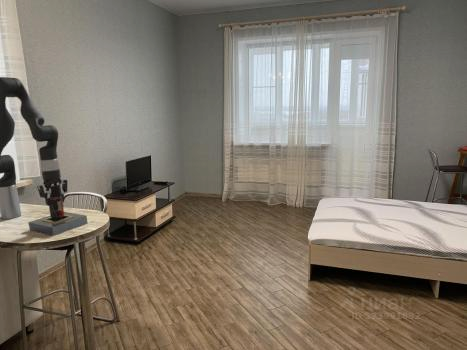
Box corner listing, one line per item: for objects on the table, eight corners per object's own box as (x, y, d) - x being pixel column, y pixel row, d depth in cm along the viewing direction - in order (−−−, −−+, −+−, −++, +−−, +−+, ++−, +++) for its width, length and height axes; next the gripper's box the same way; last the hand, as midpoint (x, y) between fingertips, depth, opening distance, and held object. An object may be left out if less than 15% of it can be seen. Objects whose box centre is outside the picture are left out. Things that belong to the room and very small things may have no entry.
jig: (29, 230, 162) (28, 221, 161) (64, 218, 178) (63, 210, 177) (53, 235, 154) (51, 226, 153) (87, 223, 169) (86, 214, 168)
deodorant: (58, 217, 161) (54, 186, 158) (47, 217, 162) (43, 186, 159) (67, 214, 167) (62, 183, 164) (56, 213, 168) (52, 183, 165)
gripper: (59, 165, 168) (64, 199, 171) (30, 171, 156) (36, 207, 159) (69, 166, 164) (74, 200, 168) (40, 172, 152) (46, 208, 155)
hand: (55, 203), depth 163 cm, fingers closed on deodorant, 6 cm apart
